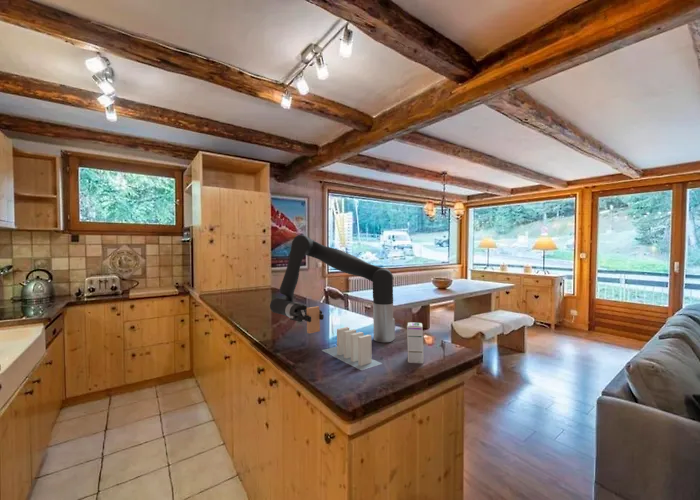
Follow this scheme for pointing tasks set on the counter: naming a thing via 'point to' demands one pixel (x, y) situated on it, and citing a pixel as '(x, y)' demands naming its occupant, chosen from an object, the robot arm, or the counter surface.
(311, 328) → the domino
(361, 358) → the domino
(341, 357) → the board
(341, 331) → the domino
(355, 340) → the domino
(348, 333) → the domino
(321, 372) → the counter surface
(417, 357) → the syrup box
